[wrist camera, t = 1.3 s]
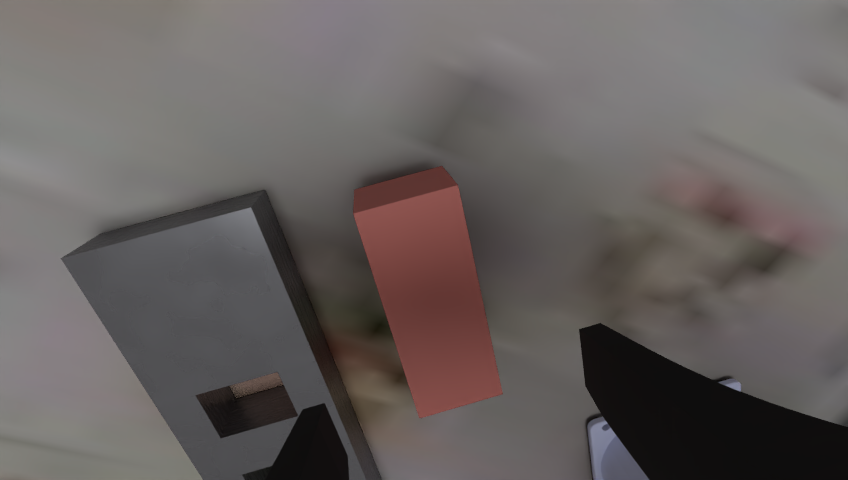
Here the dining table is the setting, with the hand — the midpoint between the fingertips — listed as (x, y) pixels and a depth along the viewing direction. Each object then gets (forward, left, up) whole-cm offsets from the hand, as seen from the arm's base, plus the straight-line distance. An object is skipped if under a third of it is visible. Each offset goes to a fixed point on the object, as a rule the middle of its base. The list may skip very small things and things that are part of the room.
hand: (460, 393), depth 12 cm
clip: (0, 0, -9) cm, 9 cm away
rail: (+9, +6, -9) cm, 14 cm away
